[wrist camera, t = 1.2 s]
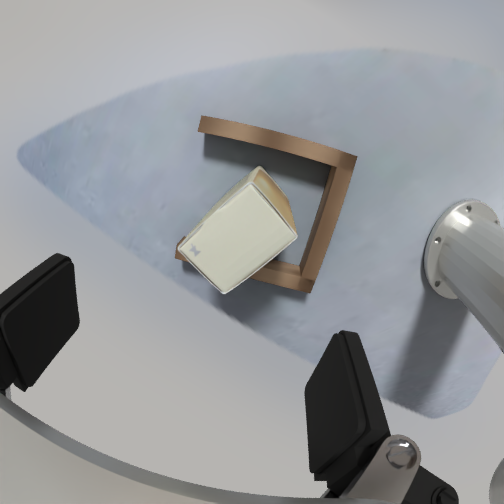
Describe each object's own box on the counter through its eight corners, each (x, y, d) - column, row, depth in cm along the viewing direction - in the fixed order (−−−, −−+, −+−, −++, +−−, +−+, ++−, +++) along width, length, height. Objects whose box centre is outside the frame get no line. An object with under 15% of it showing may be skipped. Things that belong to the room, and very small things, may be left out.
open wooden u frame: (350, 154, 25) (357, 156, 23) (308, 281, 30) (310, 293, 28) (208, 117, 25) (201, 115, 22) (182, 249, 30) (174, 258, 28)
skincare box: (242, 236, 29) (220, 300, 18) (213, 204, 28) (171, 251, 17) (291, 195, 27) (302, 238, 16) (261, 161, 26) (250, 179, 15)
